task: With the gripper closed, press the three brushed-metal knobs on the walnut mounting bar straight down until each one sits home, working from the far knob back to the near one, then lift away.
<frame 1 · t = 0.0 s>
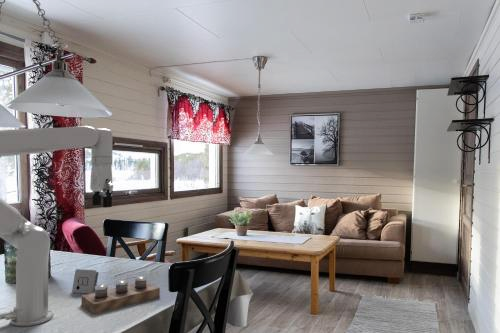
hand: (101, 206, 147), 37 cm above the table, tool pointing down, fingers open, 9 cm apart
knob far: (140, 282, 154), point 5 cm above the table, slide at 0.0 cm
knob mount: (121, 300, 149), on the table
knob near: (101, 291, 143), point 5 cm above the table, slide at 0.0 cm
electrical switch: (85, 291, 160), on the table
knob mid: (121, 287, 149), point 5 cm above the table, slide at 0.0 cm
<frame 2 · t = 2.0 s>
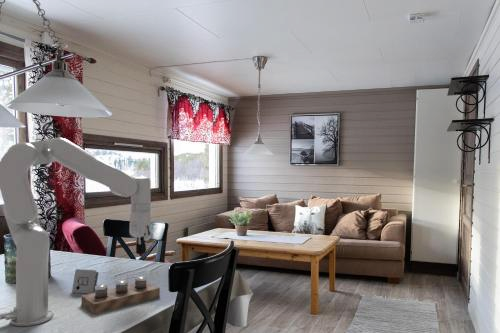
hand: (140, 253, 154), 17 cm above the table, tool pointing down, fingers closed
nothing on the table moved.
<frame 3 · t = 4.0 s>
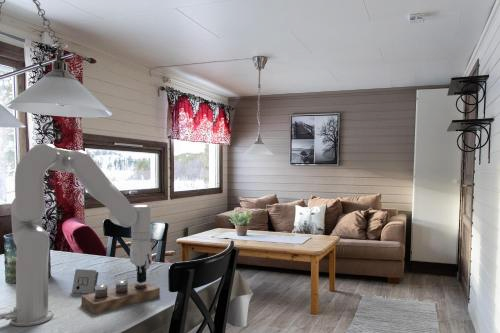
hand: (141, 281, 155), 6 cm above the table, tool pointing down, fingers closed
knob far: (140, 287, 154), point 3 cm above the table, slide at 1.8 cm, touching gripper
everything else where it was.
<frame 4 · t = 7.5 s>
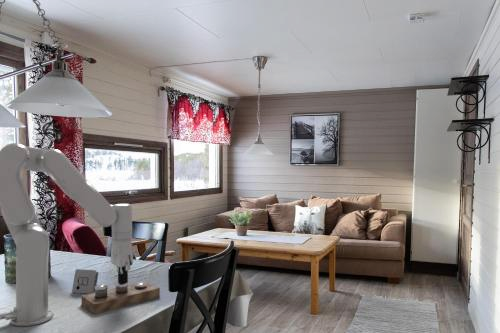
hand: (122, 283, 149), 7 cm above the table, tool pointing down, fingers closed
knob far: (140, 289, 154), point 3 cm above the table, slide at 2.5 cm
knob mid: (121, 289, 149), point 5 cm above the table, slide at 0.8 cm, touching gripper
everything else where it was.
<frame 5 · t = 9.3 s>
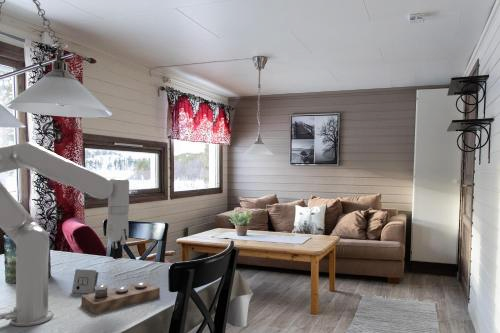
hand: (117, 258, 148), 17 cm above the table, tool pointing down, fingers closed
knob mid: (121, 293, 149), point 3 cm above the table, slide at 2.6 cm
everything else where it was.
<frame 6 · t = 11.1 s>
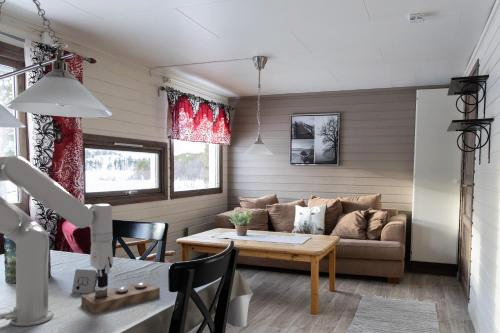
hand: (102, 286, 144), 7 cm above the table, tool pointing down, fingers closed
knob near: (101, 292, 143), point 5 cm above the table, slide at 0.2 cm, touching gripper
everything else where it was.
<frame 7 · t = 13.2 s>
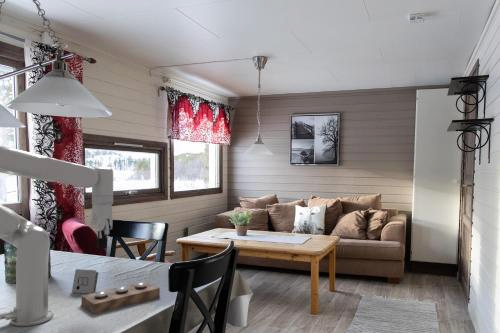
hand: (102, 248, 147), 21 cm above the table, tool pointing down, fingers closed
knob near: (101, 298, 143), point 3 cm above the table, slide at 2.5 cm
everything else where it was.
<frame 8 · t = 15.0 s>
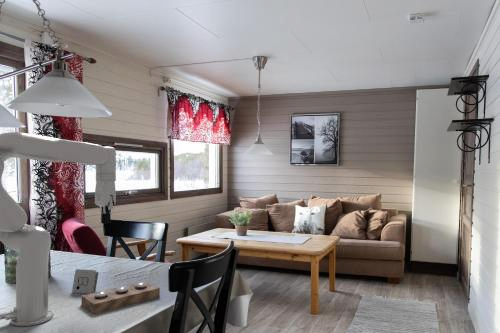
hand: (105, 223, 155), 29 cm above the table, tool pointing down, fingers closed
nothing on the table moved.
at the end: knob far slide at 2.5 cm; knob mid slide at 2.6 cm; knob near slide at 2.5 cm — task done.
